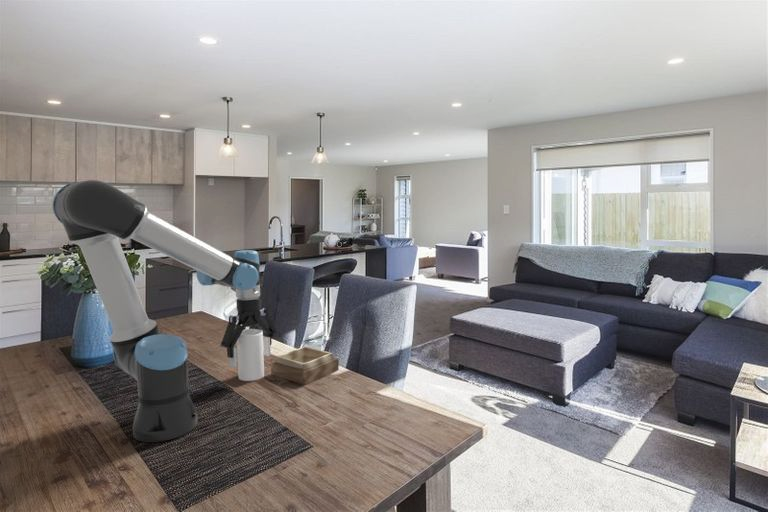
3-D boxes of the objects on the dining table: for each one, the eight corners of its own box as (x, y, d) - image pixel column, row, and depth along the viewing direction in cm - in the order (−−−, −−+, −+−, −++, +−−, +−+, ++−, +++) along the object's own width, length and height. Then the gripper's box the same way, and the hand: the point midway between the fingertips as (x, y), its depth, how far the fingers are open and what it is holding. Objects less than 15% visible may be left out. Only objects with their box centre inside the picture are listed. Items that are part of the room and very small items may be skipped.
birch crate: (305, 382, 143) (304, 364, 142) (276, 373, 151) (276, 356, 150) (333, 370, 154) (332, 353, 153) (305, 362, 162) (305, 346, 161)
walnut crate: (305, 387, 141) (304, 372, 141) (271, 376, 151) (270, 362, 150) (338, 372, 154) (338, 358, 154) (305, 363, 163) (305, 350, 163)
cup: (260, 383, 145) (258, 335, 143) (234, 383, 145) (232, 335, 143) (267, 374, 153) (265, 328, 151) (243, 374, 153) (241, 328, 151)
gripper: (221, 306, 134) (224, 374, 136) (285, 292, 154) (287, 352, 156) (207, 303, 138) (210, 369, 140) (270, 290, 158) (272, 348, 160)
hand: (250, 360), depth 148 cm, fingers open, 13 cm apart
